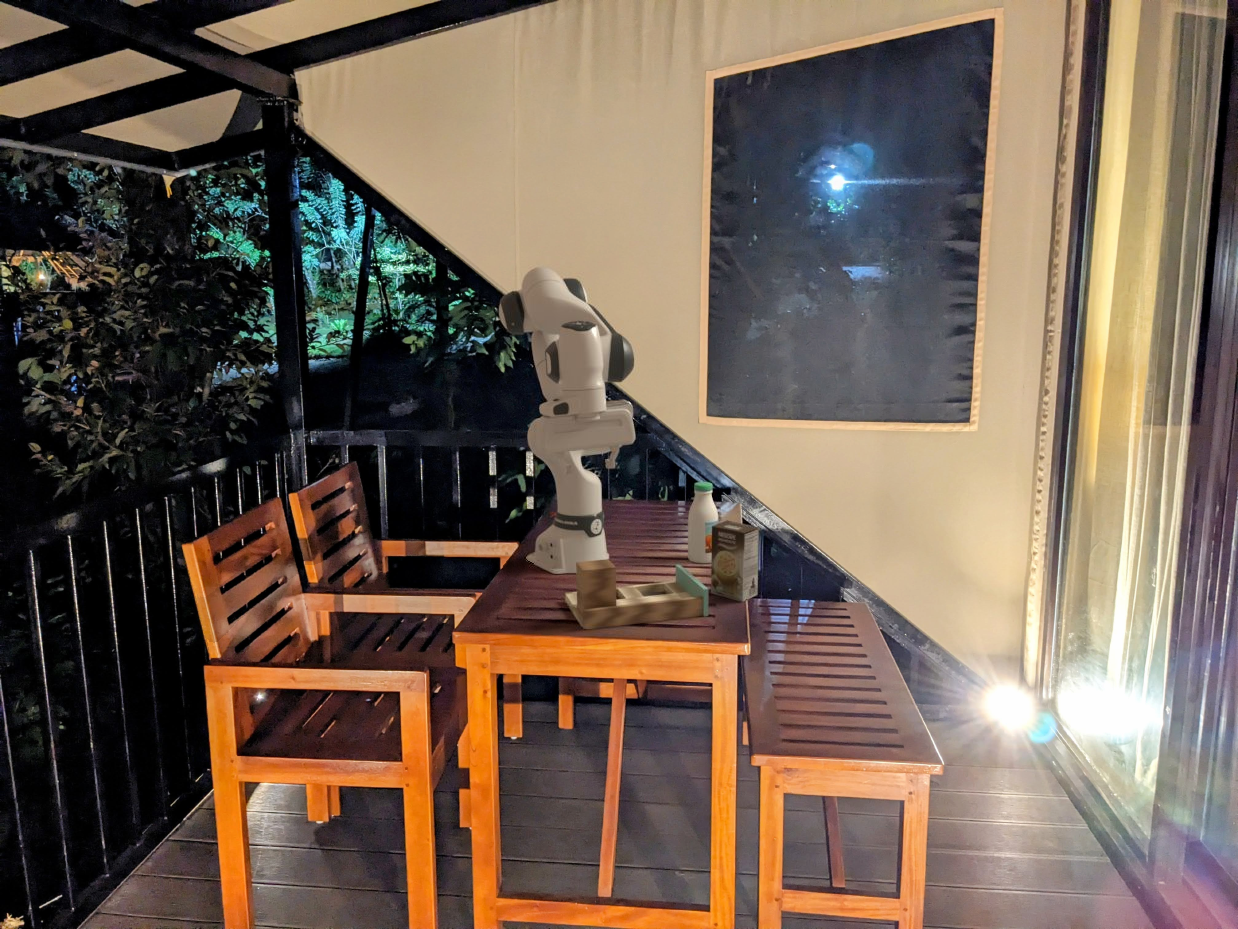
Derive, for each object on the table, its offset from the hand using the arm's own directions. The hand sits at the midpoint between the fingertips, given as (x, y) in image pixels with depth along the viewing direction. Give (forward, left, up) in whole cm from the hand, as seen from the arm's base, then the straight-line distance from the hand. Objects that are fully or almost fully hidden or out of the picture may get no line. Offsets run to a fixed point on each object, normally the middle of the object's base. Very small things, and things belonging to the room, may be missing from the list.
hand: (588, 470), depth 184 cm
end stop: (+8, +23, -32) cm, 40 cm away
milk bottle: (-10, +49, -32) cm, 60 cm away
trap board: (+1, +11, -32) cm, 34 cm away
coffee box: (+12, +33, -32) cm, 48 cm away
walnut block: (0, +1, -30) cm, 30 cm away
